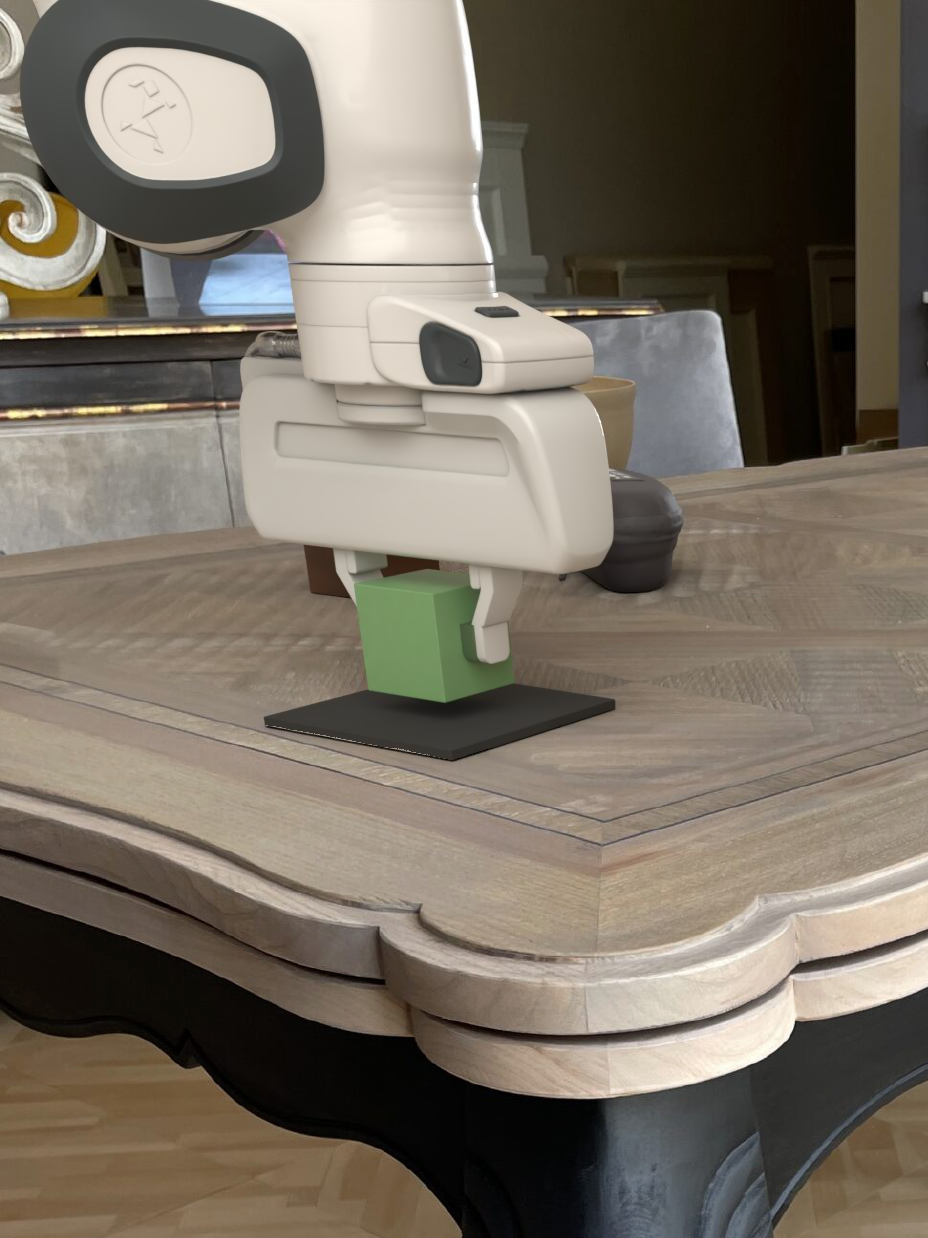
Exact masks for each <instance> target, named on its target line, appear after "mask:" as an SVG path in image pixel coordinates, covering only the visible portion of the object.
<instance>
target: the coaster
mask: <svg viewBox="0 0 928 1238" xmlns="http://www.w3.org/2000/svg"><path fill="white" fill-rule="evenodd" d="M616 708H617V705H616V699H615V698H611V697H605V696H597V695H591V694H586V693H580V692H579V693H578V692H573V691H565V690H559V689H552V688H547V687H546V688H545V687H540V686H534V685H527V684H521V683H514V684H511V685H507V686H504V687H500V688H496V689H493V690H489V691H486V692H482V693H479V694H475V695H472V696H468V697H465V698H461V699H458V700H454V701H451V702H447V703H442V702H436V701H430V700H423V699H417V698H411V697H405V696H399V695H393V694H386V693H380V692H374V691H369V690H368V688H367V689H364V690H359V691H356V692H352V693H349V694H345V695H340V696H337V697H332V698H330V699H326V700H322V701H318V702H315V703H311V704H307V705H302V706H300V707H296V708H291V709H287V710H284V711H279V712H275V713H272V714H269V715H265V716H263V721H264V722H263V723H264V726H265V725H268V726H276V727H282V728H286V729H290V730H297V731H303V732H309V733H313V734H314V733H315V734H320V735H326V736H330V737H335V738H336V737H337V738H341V739H346V740H352V741H356V742H361V743H365V744H372V745H377V746H381V747H388V748H397V749H398V748H399V749H404V750H406V751H407V750H409V751H411V752H416V753H421V754H426V755H427V754H428V755H430V756H435V757H440V758H445V759H448V760H447V761H451V760H453V761H455V760H454V759H456V760H458V759H457V758H460V757H463V758H465V756H466V757H468V756H467V755H469V754H472V755H474V754H473V753H475V752H478V753H480V752H479V751H481V752H484V751H483V750H485V751H487V750H486V749H488V750H490V748H491V749H493V748H497V747H500V746H503V745H506V744H509V743H513V742H515V741H519V740H522V739H525V738H528V737H531V736H534V735H537V734H540V733H544V732H547V731H550V730H553V729H557V728H559V727H563V726H565V725H569V724H571V723H575V722H578V721H581V720H585V719H588V718H591V717H594V716H597V715H600V714H603V713H606V712H610V711H612V710H615V709H616ZM475 754H476V753H475ZM469 756H470V755H469ZM440 758H439V759H440ZM445 759H444V760H445ZM460 759H461V758H460Z"/></svg>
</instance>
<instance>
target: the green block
mask: <svg viewBox="0 0 928 1238" xmlns="http://www.w3.org/2000/svg"><path fill="white" fill-rule="evenodd" d="M354 590H355V597H356V605H357V607H356V612H357V619H358V624H359V625H358V626H359V632H360V640H361V647H362V653H363V661H364V669H365V676H366V684H367V689H368V690H369V691H374V692H380V693H386V694H393V695H399V696H405V697H411V698H417V699H423V700H430V701H436V702H442V703H447V702H451V701H454V700H458V699H461V698H465V697H468V696H472V695H475V694H479V693H482V692H486V691H489V690H493V689H496V688H500V687H504V686H507V685H511V684H514V683H515V681H516V680H515V671H514V660H513V652H512V651H513V650H512V641H511V640H512V639H511V630H510V620H509V621H507V626H508V637H509V647H510V653H509V656H508V658H507V659H506V660H505V661H501V662H497V663H494V664H486V663H479V662H473V661H468V660H467V659H466V658H465V657H464V655H463V650H462V645H463V642H462V640H461V633H460V624H462V623H466V622H471V621H472V620H473V617H474V613H475V610H476V606H477V602H478V599H479V595H480V592H481V589H473V588H472V587H471V584H470V576H469V573H465V572H458V571H457V572H455V571H447V570H441V569H440V570H432V569H424V570H419V571H414V572H409V573H404V574H399V575H394V576H389V577H384V578H379V579H374V580H369V581H364V582H359V583H355V584H354ZM356 605H355V606H356ZM515 684H516V683H515Z"/></svg>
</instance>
